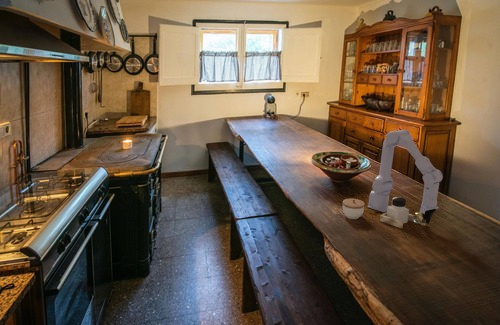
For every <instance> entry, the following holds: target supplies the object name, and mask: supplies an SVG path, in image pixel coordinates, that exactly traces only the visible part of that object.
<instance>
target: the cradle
mask: <svg viewBox="0 0 500 325" xmlns="http://www.w3.org/2000/svg"><path fill="white" fill-rule="evenodd" d="M386 215H387V211H385V212H383V213H382V214H380V215H379V216H380V217H379V218H380V219H379V222H382V223H385V224H387V225H391V226H393V227H396V228H399V229H404V224H405V223H404V222H402V221H399V220H396V219H393V218H390V217H387V216H386ZM413 219H415V214H412V213H409V214H408V221H409V222H412V221H413Z"/></svg>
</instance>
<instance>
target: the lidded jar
mask: <svg viewBox="0 0 500 325" xmlns="http://www.w3.org/2000/svg"><path fill="white" fill-rule="evenodd" d="M342 211H343V214H344V215H345V217H346V218H348V219H349V220H357V219H358V220H359V218H361V217H362V216H363V214H364V211H365V202H364V201H363V200H361V199H357V198H345V199H343V201H342Z"/></svg>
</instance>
